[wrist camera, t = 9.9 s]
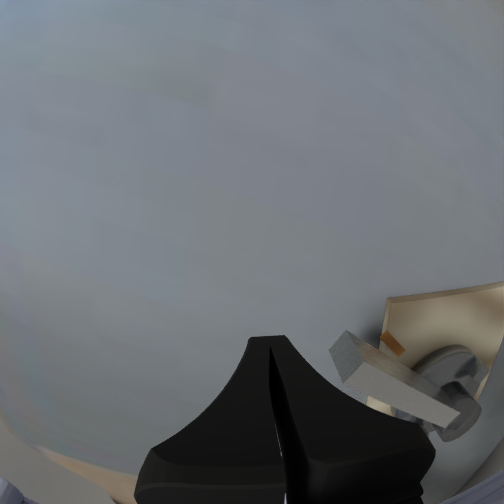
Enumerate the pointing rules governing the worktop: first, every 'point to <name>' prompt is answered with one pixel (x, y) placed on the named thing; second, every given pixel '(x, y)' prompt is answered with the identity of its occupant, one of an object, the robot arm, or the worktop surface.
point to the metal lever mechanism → (416, 384)
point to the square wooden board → (443, 327)
